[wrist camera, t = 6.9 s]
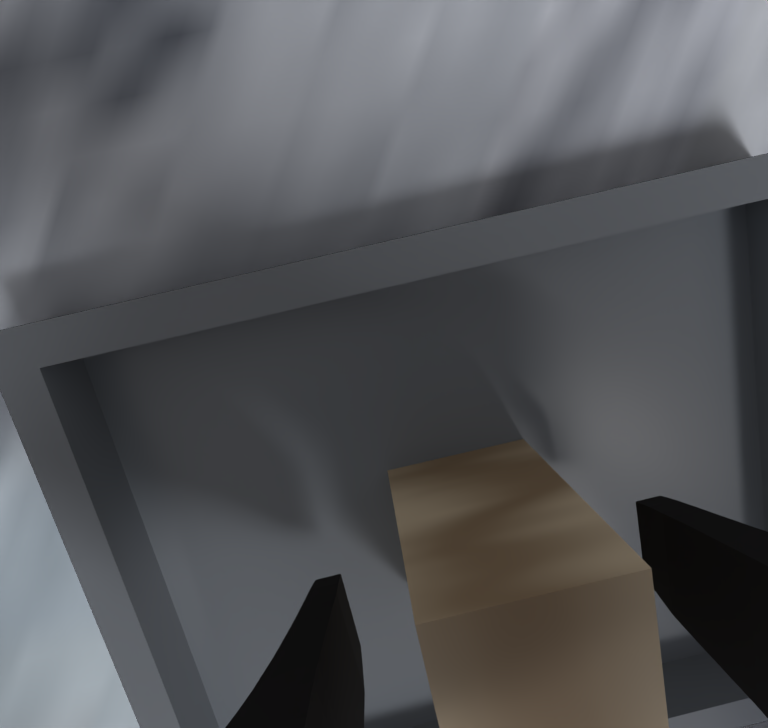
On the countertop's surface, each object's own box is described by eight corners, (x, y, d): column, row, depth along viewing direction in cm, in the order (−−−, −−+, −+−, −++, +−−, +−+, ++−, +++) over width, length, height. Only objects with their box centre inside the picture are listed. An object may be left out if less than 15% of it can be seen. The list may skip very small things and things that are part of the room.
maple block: (523, 438, 14) (651, 568, 8) (543, 559, 15) (672, 757, 9) (387, 470, 14) (414, 625, 8) (415, 590, 15) (459, 810, 9)
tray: (754, 159, 13) (845, 135, 11) (780, 635, 17) (853, 698, 14) (47, 322, 13) (-23, 335, 11) (220, 776, 16) (197, 866, 14)
